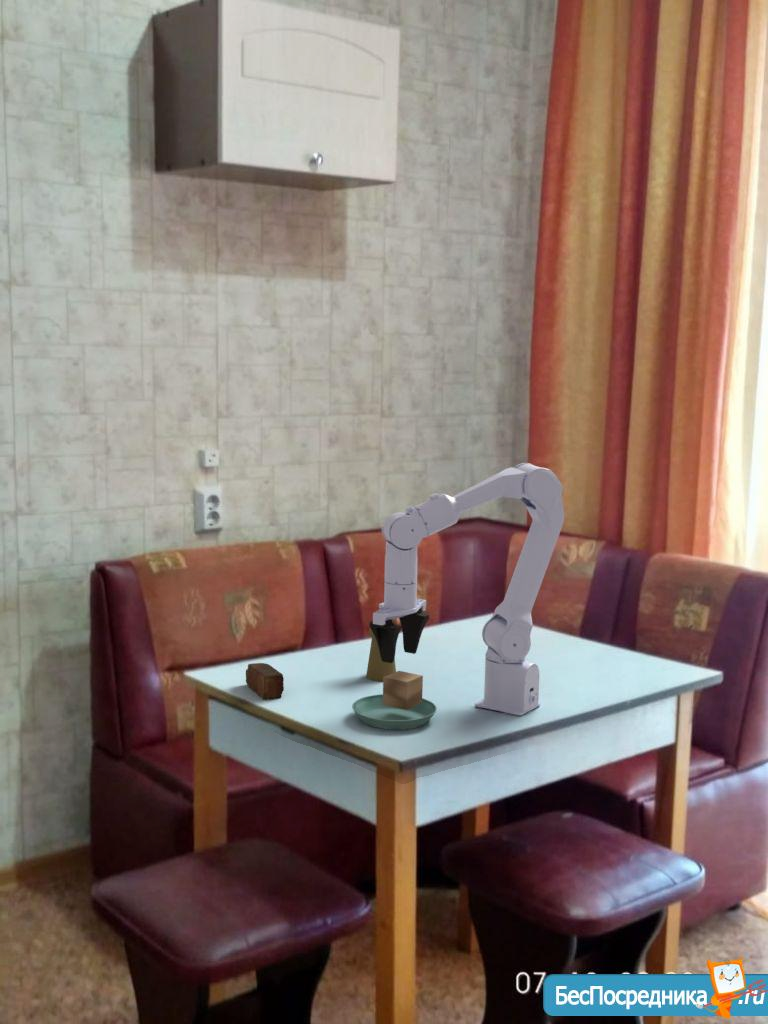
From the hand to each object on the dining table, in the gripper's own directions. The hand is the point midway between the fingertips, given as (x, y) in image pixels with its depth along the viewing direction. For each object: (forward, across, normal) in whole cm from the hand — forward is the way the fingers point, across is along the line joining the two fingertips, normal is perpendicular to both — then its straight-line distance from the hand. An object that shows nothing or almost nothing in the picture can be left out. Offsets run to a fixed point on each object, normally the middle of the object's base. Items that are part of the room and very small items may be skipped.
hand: (399, 657), depth 209 cm
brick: (+10, +4, -27) cm, 29 cm away
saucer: (+10, +4, +2) cm, 11 cm away
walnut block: (+8, +2, +2) cm, 8 cm away
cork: (+10, -17, -14) cm, 24 cm away
